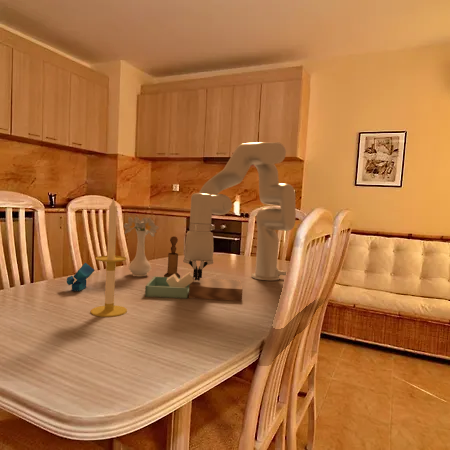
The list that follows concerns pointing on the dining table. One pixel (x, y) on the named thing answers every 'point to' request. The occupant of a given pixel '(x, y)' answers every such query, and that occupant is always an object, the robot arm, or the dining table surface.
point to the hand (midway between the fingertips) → (197, 279)
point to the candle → (110, 270)
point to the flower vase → (140, 244)
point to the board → (216, 289)
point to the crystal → (80, 277)
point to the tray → (165, 289)
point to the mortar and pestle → (172, 259)
